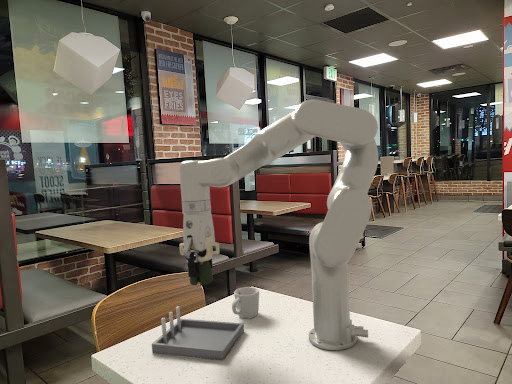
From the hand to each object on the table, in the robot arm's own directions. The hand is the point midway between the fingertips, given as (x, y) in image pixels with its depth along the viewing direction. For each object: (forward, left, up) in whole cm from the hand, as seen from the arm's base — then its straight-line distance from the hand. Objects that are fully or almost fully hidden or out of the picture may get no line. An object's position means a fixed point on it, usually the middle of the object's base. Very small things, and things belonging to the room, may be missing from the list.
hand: (201, 272), depth 100 cm
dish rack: (+2, 0, -20) cm, 20 cm away
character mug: (0, 0, -3) cm, 3 cm away
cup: (-5, -18, -20) cm, 27 cm away
